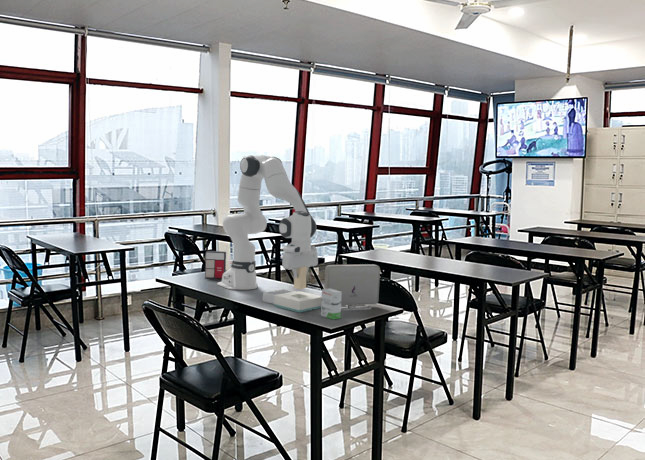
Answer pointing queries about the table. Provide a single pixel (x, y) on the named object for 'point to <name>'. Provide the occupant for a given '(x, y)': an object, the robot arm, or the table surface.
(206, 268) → the red and grey box
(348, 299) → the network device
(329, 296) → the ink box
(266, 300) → the holster
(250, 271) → the robot arm
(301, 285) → the plug
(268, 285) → the table surface
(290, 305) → the block
